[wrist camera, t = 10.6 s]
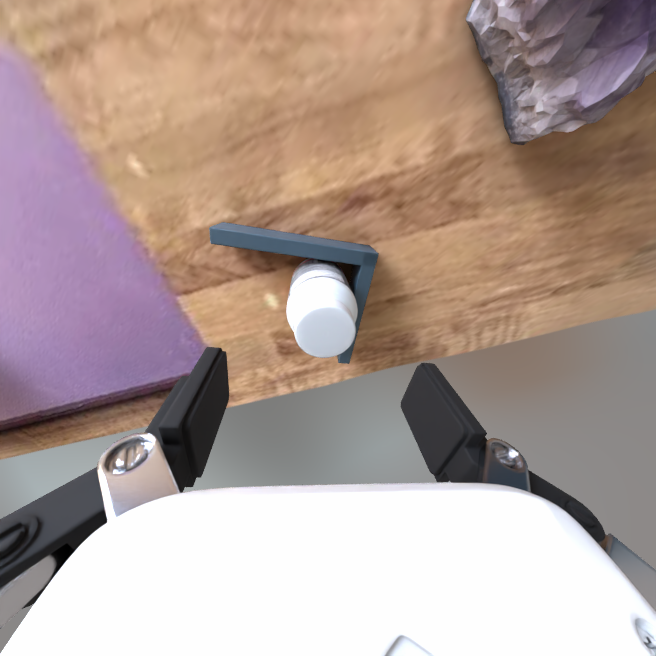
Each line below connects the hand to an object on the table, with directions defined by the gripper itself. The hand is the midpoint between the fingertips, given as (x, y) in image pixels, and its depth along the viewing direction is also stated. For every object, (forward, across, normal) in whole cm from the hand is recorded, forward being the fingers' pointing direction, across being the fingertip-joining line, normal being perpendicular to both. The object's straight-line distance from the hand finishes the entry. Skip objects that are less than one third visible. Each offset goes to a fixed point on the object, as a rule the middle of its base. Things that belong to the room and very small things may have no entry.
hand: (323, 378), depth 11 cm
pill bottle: (+14, -1, 0) cm, 14 cm away
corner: (+14, +1, +2) cm, 14 cm away
